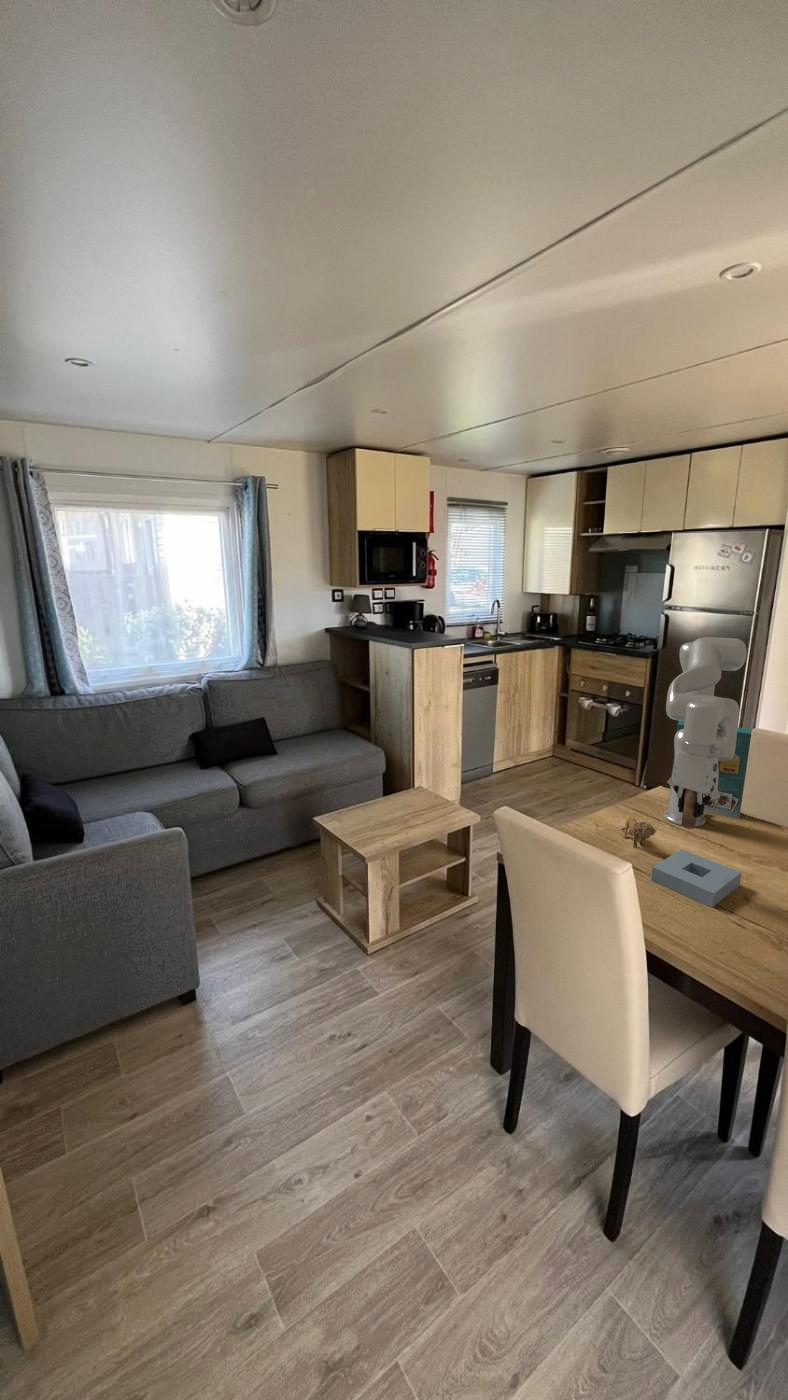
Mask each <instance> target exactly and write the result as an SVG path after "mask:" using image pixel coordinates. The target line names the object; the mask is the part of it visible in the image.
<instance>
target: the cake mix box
mask: <svg viewBox="0 0 788 1400" xmlns="http://www.w3.org/2000/svg"><path fill="white" fill-rule="evenodd" d="M684 724H685V721H679V720H678V721H677V725H676V733H677V732H678V731H679V730H681V729H684ZM717 731H719V732H721V729H720V728H719V727H717ZM752 733H753V729H752V728H744V727H738V730H737V739H736V748H735V754H734V757H733V759H732V760H730V761H727V762H723V761H718V787H717V789H718V791H719V793H720V797H719V798H717V799H713V800H709V801H707V802H705V807H704V812H705V813H710V814H715V815H721V816H726V817H730V818H734V819H740V816H741V809H742V802H743V796H744V795H743V794H744V788H745V783H746V782H745V781H746V776H747V775H746V774H747V768H748V763H749V762H748V761H749V752H750V747H751V740H752ZM672 761H673V762H672V769H671V776H672V775H673V769H674V763H675V750H674V751H673V760H672ZM669 786H670V785H669ZM671 792H672V787H671V786H670V787H669V794H668V795H669V796H668V805H669V806H670V800H671ZM710 794H712V792H711V791H710V793H709V794H707V795H710Z"/></svg>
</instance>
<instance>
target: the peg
mask: <svg viewBox="0 0 788 1400" xmlns="http://www.w3.org/2000/svg"><path fill="white" fill-rule="evenodd" d="M695 803H697V792H695V791H692V790H689V789H685V797H684V805H683V814H682V822H681V825H680V826H681V827H682V828H685V829H689V830H694V829H695V828H696V827H695V826H696V818H695V817H694V808H695Z"/></svg>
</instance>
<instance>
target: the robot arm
mask: <svg viewBox="0 0 788 1400" xmlns="http://www.w3.org/2000/svg"><path fill="white" fill-rule="evenodd" d="M746 660H747V647H746V644H745V642H744V641H743V640H742V639H740V638H735V637H733V638H732V637H714V636H713V637H711V636H710V637H709V636H706V637H705V636H704V637H699V638H697V639H695V640H694V641H692V642H691V641H690V642H685V643H683V644H681V646H680V648H679V662H680V667H681V670H682V673H680V674H679V675H678V676H676V677H674V679H673V680H672V682H671V683H670V684H669V687H668V690H667V695H666V702H665V703H666V704H665V711H666V712H665V713H666V715H667V717H669V719H671V720H674V721H678V722H679V721H685V724H684V729H681V730H679V731H678V732H677V731H676V733H675V735H674V738H673V739H674V740H673V743H674V751H675V763H674V769H673V768H672V769H673V775H672V774H671V777H670V778H668V780H667V782H666V783H667V784H668V785H669V786H671V787H672V792H671V800H670V805H669V808H667V809H665V810H664V812H663V817H664V818H665V819H666V820H667V821H668V822H671V823H673V824H675V825H678V826H681V822H682V814H683V805H684V797H685V789H689V790H692V791H695V792H697V803H695V808H694V817H695V818H696V826H695V828H697V827H701V826H703V825H705V824H706V820H707V819H706V817H705V816H704V815H703V814H704V807H705V802H707V801H709V800H713V799H717V798H719V797H720V793H719V791H718V789H717V787H718V761H723V762H727V761H730V760H732V759H733V757H734V754H735V748H736V739H737V730H738V728H739V720H740V708H739V707H740V706H739V703H737V701H736V700H734V699H733V698H729V697H720V696H718V695H717V696H715V689H716V687H715V686H716V684H718V683H719V681H720V680H721V679H722V671H726V672H727V671H728V672H729V671H730V672H731V671H732V672H735V671H738V670H739V669H741V668H742V667H743V666H744V664H745V662H746ZM717 727H719V728H720V729H721V732H719V731H717ZM710 791H711V792H712V794H710V795H707V794H709V793H710Z"/></svg>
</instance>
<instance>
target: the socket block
mask: <svg viewBox="0 0 788 1400" xmlns="http://www.w3.org/2000/svg"><path fill="white" fill-rule="evenodd" d="M651 869H652V870H651V878H650V879H651V880H650V881H652V882H653V883H656V884H658V885H660V886H663V887H665V888H667V889H670V890H672V891H674V892H677V893H678V894H681V895H683V896H686V897H687V898H690V899H692V900H694V901H696V902H699V903H700V904H703V905H705V906H707V907H710V908H714V907H715V906H716V905H717V904H718V903H720V902H721V901H722V900H723V899H725V898H726V897H728V895H730V894H731V893H732V892H734V891H735V890H736V889H737V888H739V887H741V886H740V885H741V880H742V872H741V871H739V870H737V869H735V868H731V867H728V866H727V865H723V864H721V863H719V862H716V861H714V860H711V859H709V858H706V857H703V856H701V855H699V854H698V855H697V854H695V853H692V852H691V851H687V850H685V849H679V850H678V851H676V852H674V853H673V854H672V855H670V856H668V857H667V858H665V859H663V860H662V861H660V862H658V863H657V864H655V865H653V866H652V868H651Z"/></svg>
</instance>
